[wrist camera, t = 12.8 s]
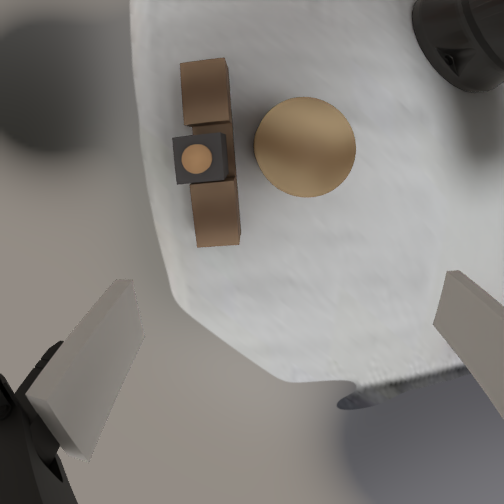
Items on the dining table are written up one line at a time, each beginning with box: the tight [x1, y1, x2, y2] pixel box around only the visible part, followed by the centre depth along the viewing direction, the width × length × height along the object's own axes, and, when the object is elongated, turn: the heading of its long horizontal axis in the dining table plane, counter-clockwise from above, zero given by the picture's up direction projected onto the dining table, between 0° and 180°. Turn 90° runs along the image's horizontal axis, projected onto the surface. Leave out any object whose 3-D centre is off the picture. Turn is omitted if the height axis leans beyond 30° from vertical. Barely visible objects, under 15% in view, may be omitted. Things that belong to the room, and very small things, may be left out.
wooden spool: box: [253, 97, 356, 197], centre depth 26 cm, size 8×8×9 cm
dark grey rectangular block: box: [172, 132, 229, 185], centre depth 26 cm, size 4×4×7 cm
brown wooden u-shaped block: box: [180, 58, 241, 248], centre depth 28 cm, size 18×4×5 cm, turn 4°
